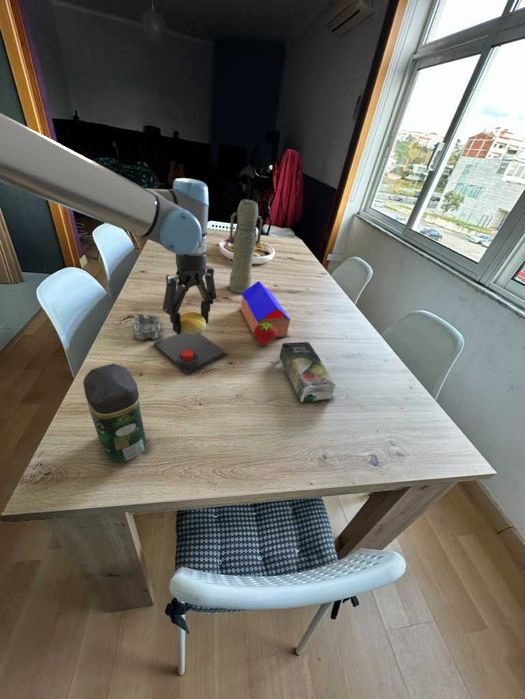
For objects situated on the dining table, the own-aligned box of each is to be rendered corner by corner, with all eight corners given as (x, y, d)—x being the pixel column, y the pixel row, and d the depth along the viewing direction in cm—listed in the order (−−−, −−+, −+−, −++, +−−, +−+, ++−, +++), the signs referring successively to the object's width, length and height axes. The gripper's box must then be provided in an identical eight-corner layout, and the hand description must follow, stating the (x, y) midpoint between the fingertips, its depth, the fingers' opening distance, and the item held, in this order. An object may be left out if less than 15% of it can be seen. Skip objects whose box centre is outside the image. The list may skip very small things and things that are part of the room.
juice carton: (334, 401, 79) (340, 385, 76) (301, 405, 76) (306, 388, 73) (306, 356, 94) (310, 340, 91) (277, 358, 91) (280, 342, 88)
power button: (179, 357, 81) (179, 352, 80) (188, 353, 83) (188, 348, 82) (186, 362, 79) (186, 357, 78) (195, 358, 81) (195, 353, 80)
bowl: (284, 261, 164) (286, 247, 159) (245, 270, 144) (247, 254, 140) (247, 244, 178) (248, 230, 174) (207, 250, 159) (208, 235, 154)
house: (254, 338, 98) (259, 308, 91) (239, 309, 113) (243, 280, 106) (287, 336, 102) (294, 307, 95) (268, 308, 117) (273, 280, 110)
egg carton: (136, 322, 95) (134, 311, 93) (160, 321, 98) (159, 311, 95) (134, 341, 87) (132, 329, 85) (160, 340, 90) (160, 328, 87)
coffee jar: (95, 435, 61) (75, 368, 50) (134, 419, 65) (123, 354, 54) (110, 471, 55) (90, 404, 44) (151, 452, 60) (143, 386, 49)
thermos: (255, 294, 125) (268, 205, 104) (227, 293, 121) (235, 201, 101) (250, 285, 131) (261, 200, 111) (224, 284, 128) (231, 196, 107)
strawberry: (276, 351, 94) (282, 325, 88) (253, 351, 92) (257, 325, 86) (271, 340, 99) (276, 314, 93) (249, 340, 96) (253, 314, 91)
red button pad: (152, 346, 87) (151, 338, 85) (192, 331, 96) (192, 323, 94) (185, 375, 79) (185, 366, 77) (225, 355, 89) (225, 347, 87)
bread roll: (174, 335, 82) (174, 323, 79) (179, 318, 89) (179, 307, 87) (204, 337, 83) (204, 325, 81) (207, 320, 90) (207, 309, 88)
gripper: (161, 263, 64) (166, 346, 77) (233, 249, 78) (227, 320, 91) (142, 252, 67) (150, 333, 81) (214, 240, 82) (211, 310, 95)
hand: (191, 326), depth 86 cm, fingers closed on bread roll, 9 cm apart
